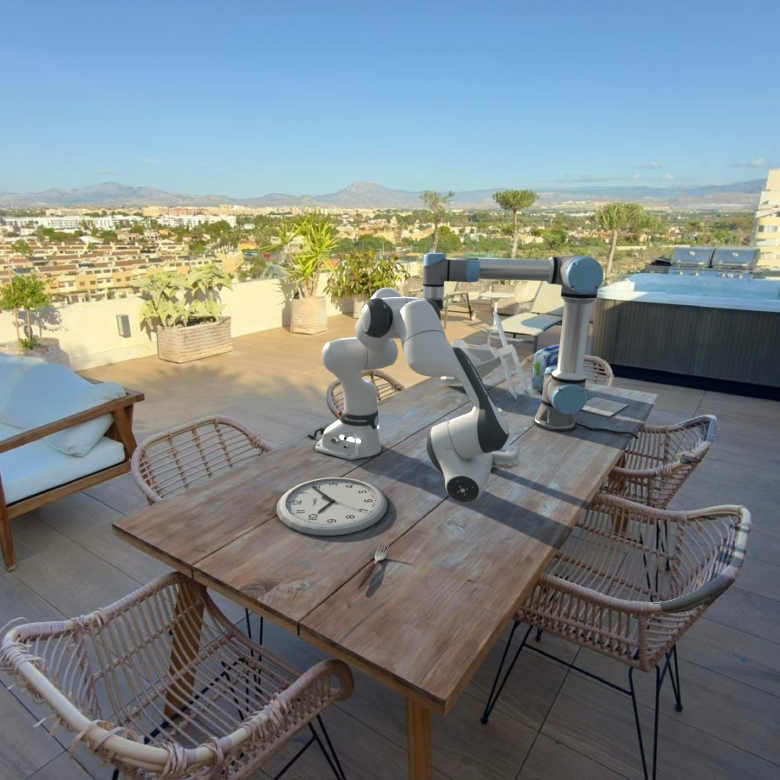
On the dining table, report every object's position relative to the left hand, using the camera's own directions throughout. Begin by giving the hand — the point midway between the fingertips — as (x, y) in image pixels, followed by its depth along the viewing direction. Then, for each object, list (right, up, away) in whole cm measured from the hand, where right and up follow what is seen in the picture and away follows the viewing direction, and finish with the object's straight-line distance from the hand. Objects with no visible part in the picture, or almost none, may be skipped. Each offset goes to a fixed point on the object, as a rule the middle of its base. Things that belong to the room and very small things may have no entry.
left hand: (482, 440), depth 140 cm
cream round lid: (+7, +7, +21) cm, 23 cm away
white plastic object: (+17, +12, +104) cm, 106 cm away
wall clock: (-40, -18, +3) cm, 44 cm away
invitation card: (+67, +6, +87) cm, 110 cm away
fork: (-29, -26, -23) cm, 45 cm away
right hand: (-10, +25, +50) cm, 57 cm away
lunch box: (+53, +14, +110) cm, 123 cm away
